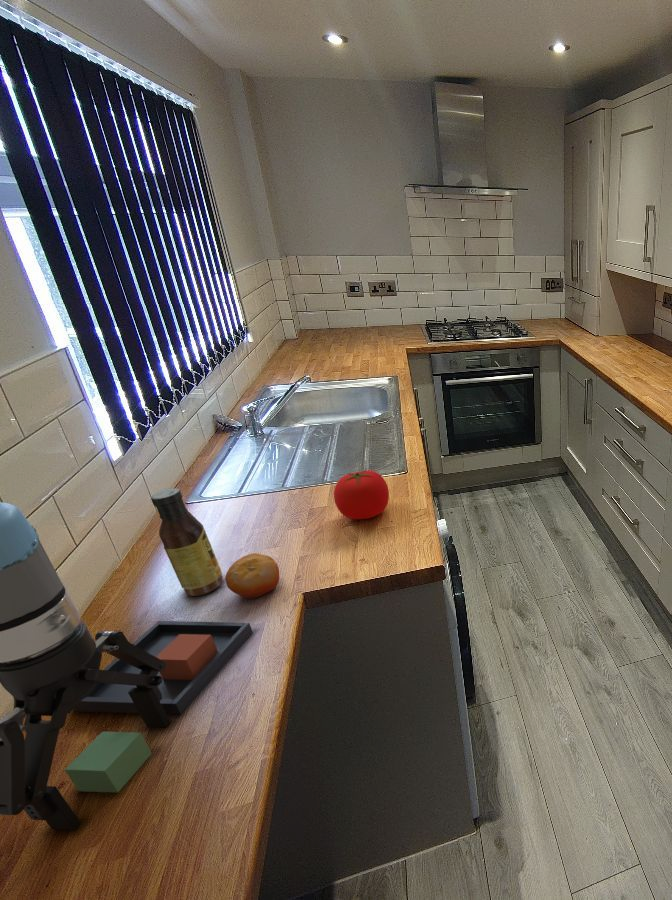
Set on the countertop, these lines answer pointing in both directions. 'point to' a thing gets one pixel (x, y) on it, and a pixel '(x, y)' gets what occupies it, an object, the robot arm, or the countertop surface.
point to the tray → (172, 690)
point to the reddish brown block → (187, 656)
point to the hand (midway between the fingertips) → (116, 771)
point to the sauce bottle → (186, 544)
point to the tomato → (361, 494)
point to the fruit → (252, 575)
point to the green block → (109, 762)
